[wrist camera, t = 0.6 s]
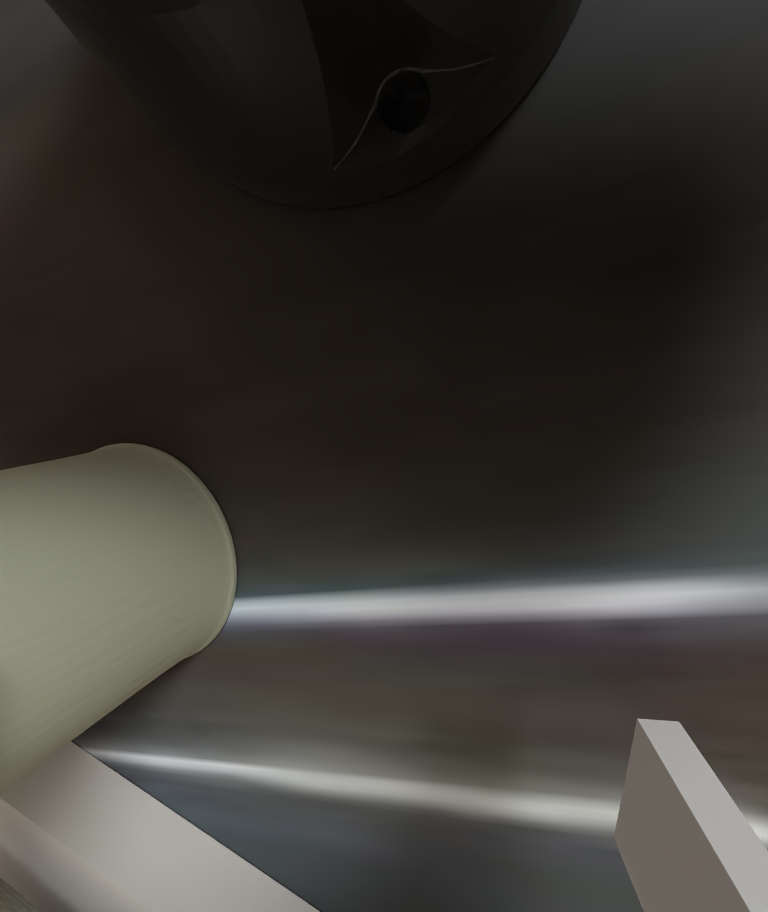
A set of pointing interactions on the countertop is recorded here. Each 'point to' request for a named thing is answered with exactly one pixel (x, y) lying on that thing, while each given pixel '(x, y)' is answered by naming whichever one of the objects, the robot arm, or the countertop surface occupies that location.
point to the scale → (118, 848)
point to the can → (100, 589)
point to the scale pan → (14, 900)
